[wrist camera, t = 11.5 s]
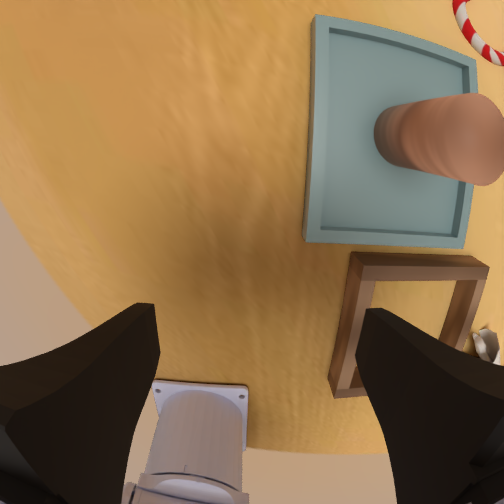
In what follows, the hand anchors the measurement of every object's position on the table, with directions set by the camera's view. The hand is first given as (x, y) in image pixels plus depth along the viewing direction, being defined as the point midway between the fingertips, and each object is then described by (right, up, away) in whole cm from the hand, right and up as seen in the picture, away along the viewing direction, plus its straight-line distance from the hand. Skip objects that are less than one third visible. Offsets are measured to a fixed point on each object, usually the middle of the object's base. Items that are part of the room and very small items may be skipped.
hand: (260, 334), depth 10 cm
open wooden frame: (+12, -3, +12) cm, 17 cm away
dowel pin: (+9, +10, +7) cm, 15 cm away
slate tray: (+9, +10, +8) cm, 16 cm away
